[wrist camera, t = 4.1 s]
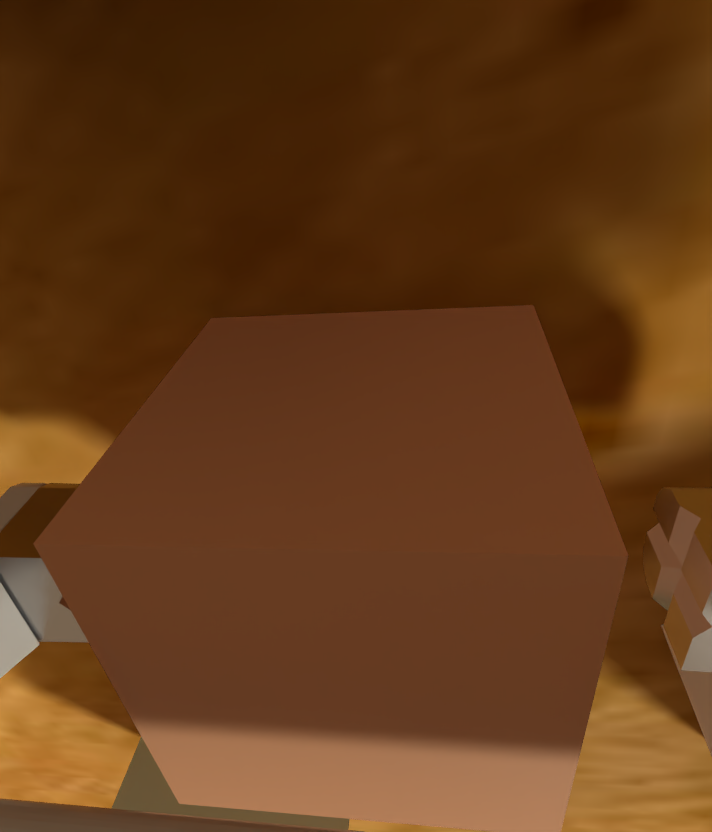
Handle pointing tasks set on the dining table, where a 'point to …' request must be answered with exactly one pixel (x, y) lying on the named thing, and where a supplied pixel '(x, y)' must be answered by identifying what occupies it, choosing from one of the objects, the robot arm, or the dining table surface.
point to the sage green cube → (153, 794)
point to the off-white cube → (698, 695)
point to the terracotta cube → (353, 569)
